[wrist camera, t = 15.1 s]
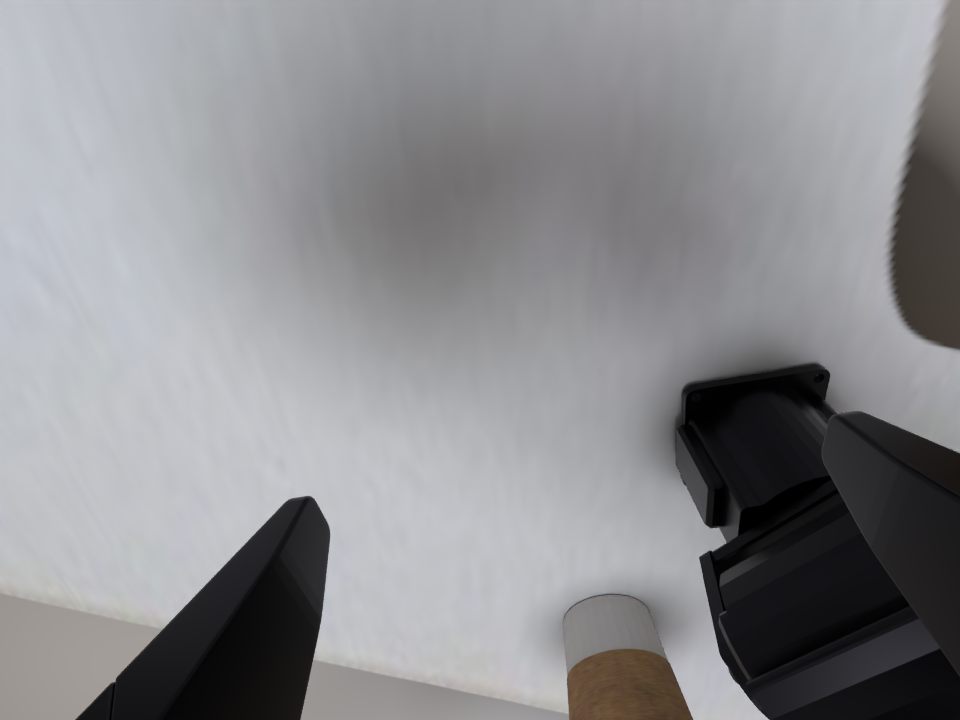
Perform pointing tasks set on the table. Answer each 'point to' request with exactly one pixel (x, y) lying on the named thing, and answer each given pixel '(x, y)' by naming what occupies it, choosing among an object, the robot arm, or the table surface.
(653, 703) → the coffee cup
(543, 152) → the table surface
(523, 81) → the table surface
